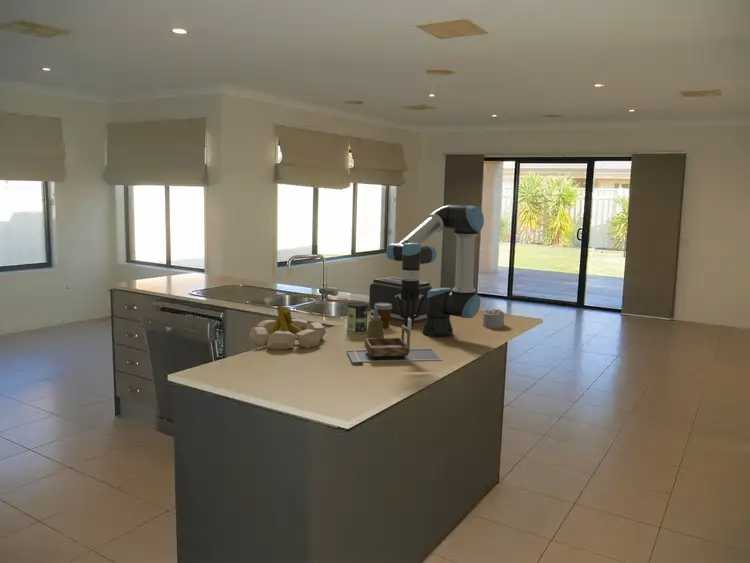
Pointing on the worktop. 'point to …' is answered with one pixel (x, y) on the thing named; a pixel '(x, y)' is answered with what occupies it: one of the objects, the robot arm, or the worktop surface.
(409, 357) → the track
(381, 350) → the cart
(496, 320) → the lumpy-topped squat cylinder
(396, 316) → the toaster
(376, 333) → the squeeze bottle
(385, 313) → the disposable coffee cup
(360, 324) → the coffee can
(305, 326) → the campfire
